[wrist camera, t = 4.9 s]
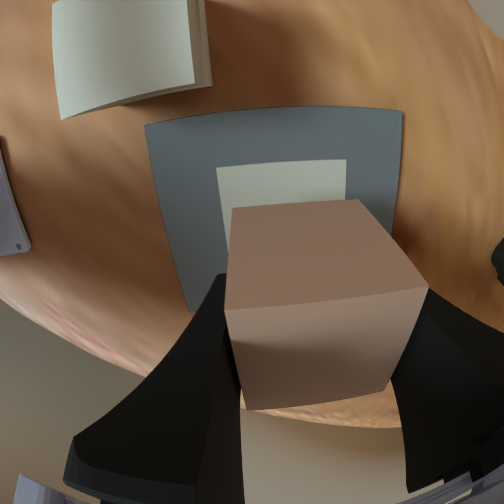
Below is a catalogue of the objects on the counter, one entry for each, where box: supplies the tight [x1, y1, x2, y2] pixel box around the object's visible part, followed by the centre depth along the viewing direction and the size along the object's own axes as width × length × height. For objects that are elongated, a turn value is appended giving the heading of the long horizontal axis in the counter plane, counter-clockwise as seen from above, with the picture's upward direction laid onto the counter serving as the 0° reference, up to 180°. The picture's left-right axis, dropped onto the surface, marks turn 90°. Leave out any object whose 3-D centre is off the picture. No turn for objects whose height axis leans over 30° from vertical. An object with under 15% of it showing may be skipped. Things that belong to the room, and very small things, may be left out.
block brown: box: [224, 199, 429, 410], centre depth 9 cm, size 4×4×5 cm
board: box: [144, 106, 402, 311], centre depth 14 cm, size 12×11×1 cm
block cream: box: [52, 0, 213, 120], centre depth 8 cm, size 4×4×5 cm
